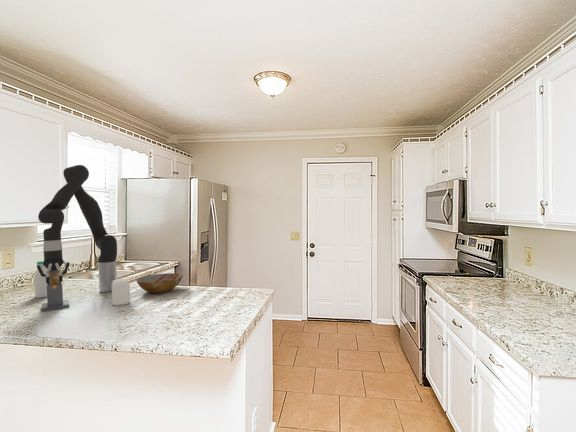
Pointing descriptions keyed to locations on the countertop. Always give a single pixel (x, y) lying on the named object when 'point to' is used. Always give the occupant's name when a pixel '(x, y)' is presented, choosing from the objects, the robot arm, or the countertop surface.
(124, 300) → the white upright block
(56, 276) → the walnut post
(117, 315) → the countertop surface
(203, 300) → the countertop surface
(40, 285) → the milk bottle
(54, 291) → the stand sleeve
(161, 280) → the bowl
